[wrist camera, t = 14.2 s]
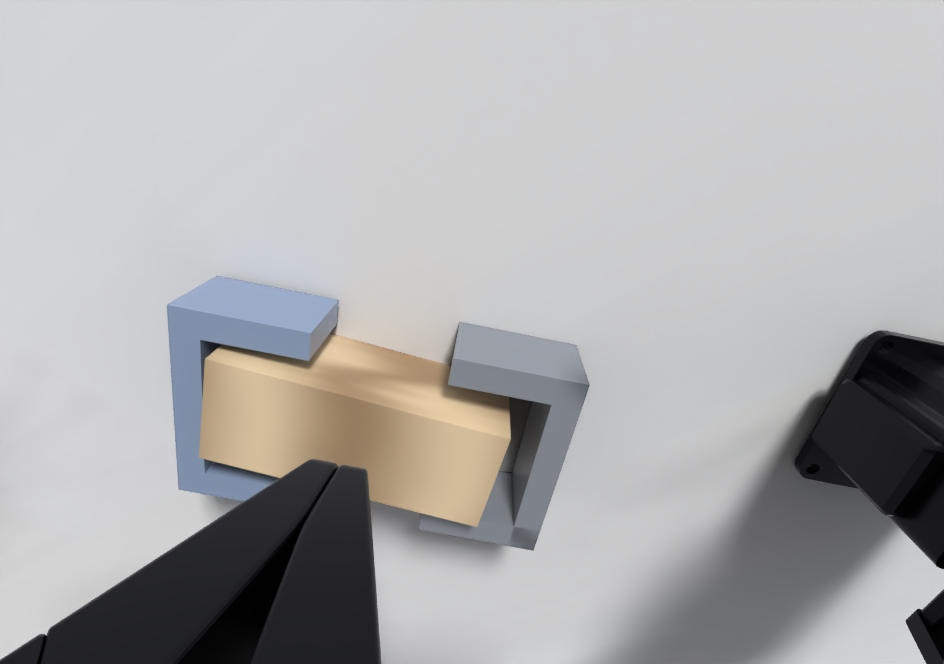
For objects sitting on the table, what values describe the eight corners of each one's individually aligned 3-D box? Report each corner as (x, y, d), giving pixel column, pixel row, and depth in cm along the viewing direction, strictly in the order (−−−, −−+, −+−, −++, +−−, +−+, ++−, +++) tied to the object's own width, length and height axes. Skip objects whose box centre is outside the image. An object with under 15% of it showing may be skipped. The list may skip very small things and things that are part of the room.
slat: (508, 379, 20) (510, 439, 16) (480, 456, 21) (477, 527, 18) (261, 311, 19) (204, 359, 15) (251, 396, 21) (198, 457, 17)
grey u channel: (576, 345, 19) (589, 385, 16) (528, 495, 22) (533, 550, 19) (459, 322, 19) (453, 358, 16) (428, 476, 22) (418, 529, 19)
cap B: (338, 300, 18) (310, 333, 16) (324, 460, 21) (298, 511, 19) (216, 275, 18) (166, 304, 15) (219, 440, 21) (178, 489, 18)
